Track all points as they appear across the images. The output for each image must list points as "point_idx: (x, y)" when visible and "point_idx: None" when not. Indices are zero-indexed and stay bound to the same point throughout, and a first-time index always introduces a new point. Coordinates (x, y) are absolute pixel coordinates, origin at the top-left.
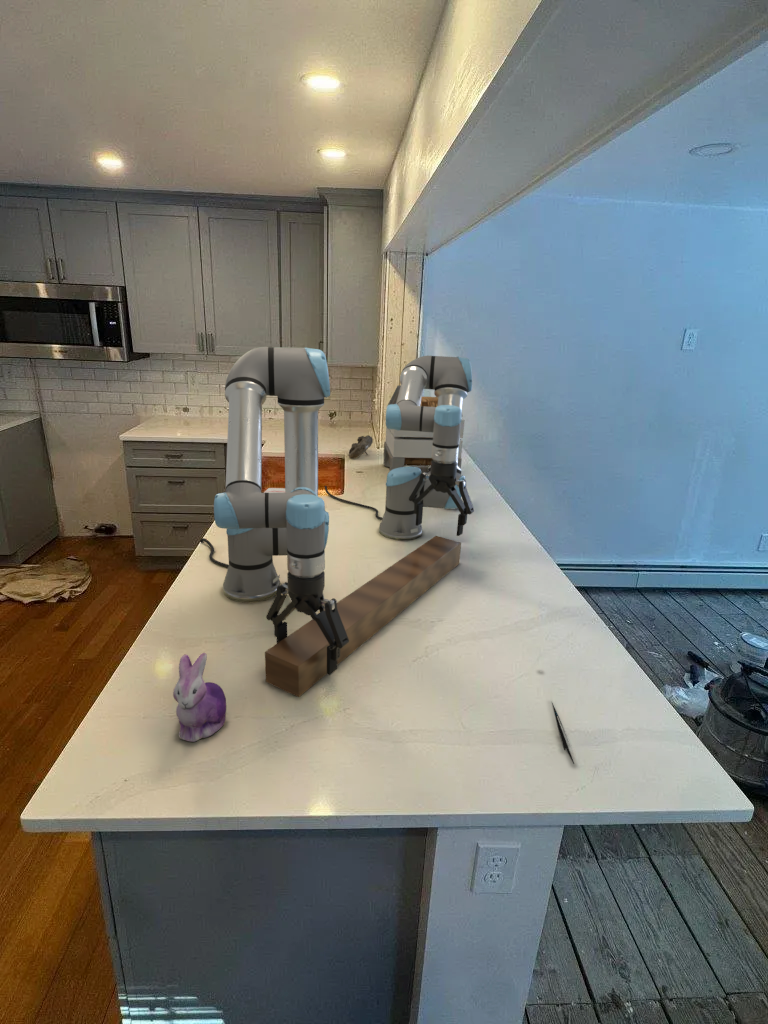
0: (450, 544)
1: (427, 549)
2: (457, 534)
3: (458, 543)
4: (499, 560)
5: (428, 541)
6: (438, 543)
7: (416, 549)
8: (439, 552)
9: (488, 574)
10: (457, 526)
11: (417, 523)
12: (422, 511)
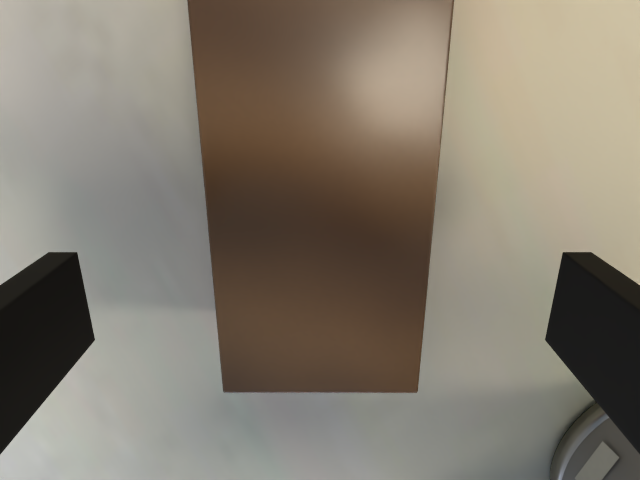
0: (262, 321)
1: (361, 138)
2: (57, 258)
3: (227, 366)
4: (118, 443)
5: (420, 278)
6: (341, 289)
7: (439, 79)
8: (254, 141)
9: None
10: (5, 305)
11: (582, 262)
12: (633, 440)
